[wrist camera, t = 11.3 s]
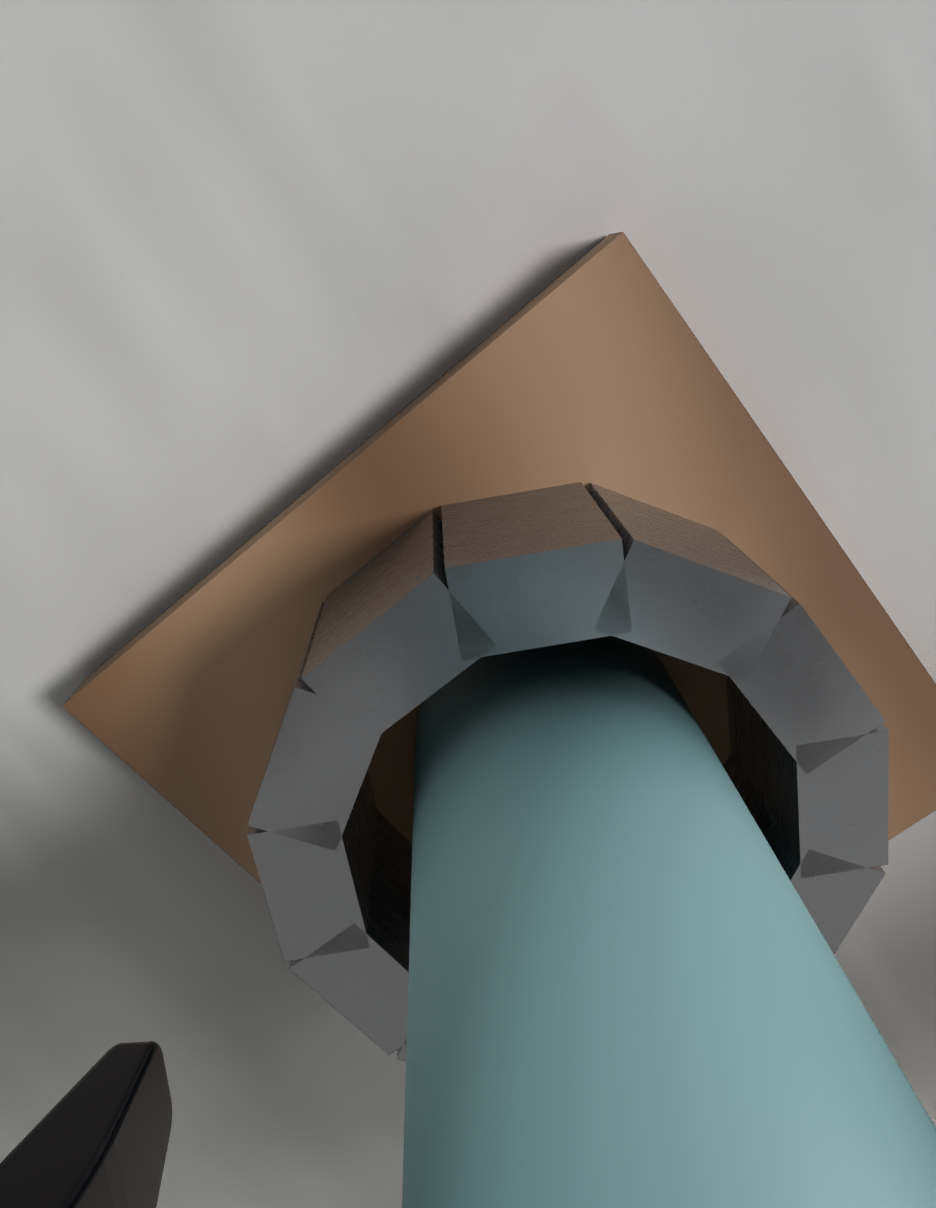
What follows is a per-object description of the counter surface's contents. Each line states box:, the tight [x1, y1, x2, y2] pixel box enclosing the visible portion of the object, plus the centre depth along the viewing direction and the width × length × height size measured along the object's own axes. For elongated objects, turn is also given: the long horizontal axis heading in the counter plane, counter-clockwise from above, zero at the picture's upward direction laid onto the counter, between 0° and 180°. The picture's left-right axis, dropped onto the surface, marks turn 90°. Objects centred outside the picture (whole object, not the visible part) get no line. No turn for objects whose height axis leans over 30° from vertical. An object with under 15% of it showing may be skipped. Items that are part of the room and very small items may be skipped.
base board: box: [63, 232, 936, 883], centre depth 15 cm, size 11×11×1 cm
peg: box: [402, 636, 936, 1208], centre depth 10 cm, size 4×4×10 cm
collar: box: [247, 482, 889, 1061], centre depth 13 cm, size 8×8×3 cm
